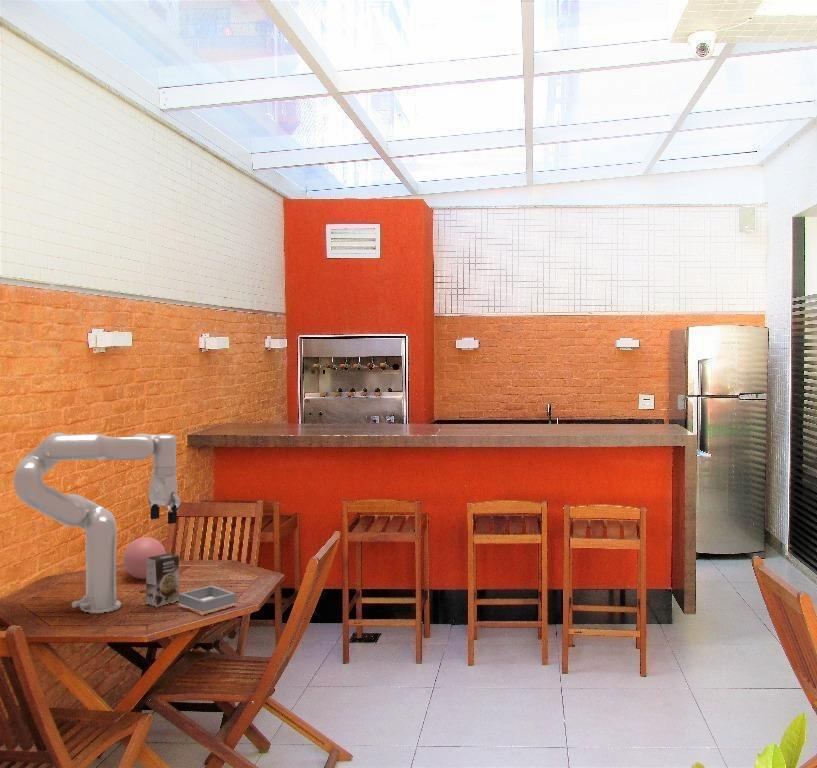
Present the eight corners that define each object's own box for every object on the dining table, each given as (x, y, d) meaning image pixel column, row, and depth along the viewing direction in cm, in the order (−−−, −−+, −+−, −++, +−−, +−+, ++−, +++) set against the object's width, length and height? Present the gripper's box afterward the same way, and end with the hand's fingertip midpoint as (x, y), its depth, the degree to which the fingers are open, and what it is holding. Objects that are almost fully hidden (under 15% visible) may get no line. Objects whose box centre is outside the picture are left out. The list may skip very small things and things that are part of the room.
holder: (203, 615, 280) (203, 602, 280) (178, 606, 288) (178, 593, 288) (235, 606, 290) (235, 593, 290) (211, 597, 299) (211, 585, 298)
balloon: (153, 567, 335) (153, 528, 334) (172, 580, 319) (172, 539, 318) (113, 573, 326) (113, 533, 325) (131, 586, 310) (131, 544, 309)
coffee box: (157, 608, 286) (157, 560, 286) (145, 604, 290) (145, 557, 289) (179, 601, 294) (179, 555, 293) (167, 598, 298) (168, 552, 297)
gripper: (139, 469, 292) (139, 518, 293) (170, 475, 282) (169, 526, 283) (158, 466, 298) (157, 515, 299) (189, 473, 287) (188, 523, 288)
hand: (163, 521), depth 291 cm, fingers open, 9 cm apart
